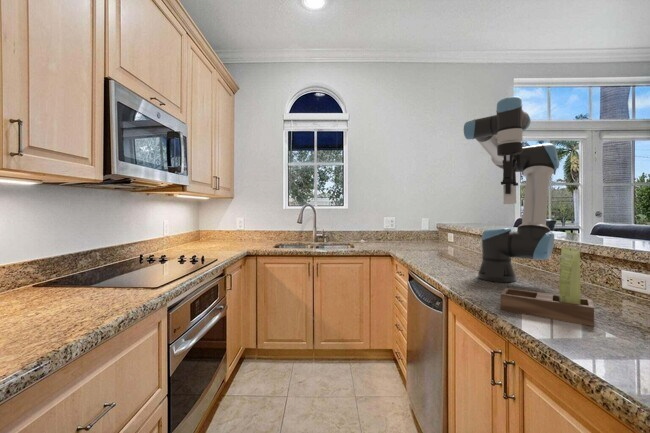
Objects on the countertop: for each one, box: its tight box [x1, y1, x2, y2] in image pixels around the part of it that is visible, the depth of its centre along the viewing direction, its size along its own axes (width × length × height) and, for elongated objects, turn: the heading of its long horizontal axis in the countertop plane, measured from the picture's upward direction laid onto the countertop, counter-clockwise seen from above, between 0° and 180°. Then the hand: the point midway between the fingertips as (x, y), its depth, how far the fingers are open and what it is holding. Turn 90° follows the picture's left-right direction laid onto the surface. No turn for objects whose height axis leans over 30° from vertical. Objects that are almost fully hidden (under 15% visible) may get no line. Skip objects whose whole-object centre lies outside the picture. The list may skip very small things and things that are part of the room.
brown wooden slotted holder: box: [500, 287, 595, 327], centre depth 91 cm, size 10×22×5 cm, turn 50°
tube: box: [558, 245, 581, 304], centre depth 87 cm, size 6×5×20 cm
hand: (510, 203), depth 104 cm, fingers open, 13 cm apart
